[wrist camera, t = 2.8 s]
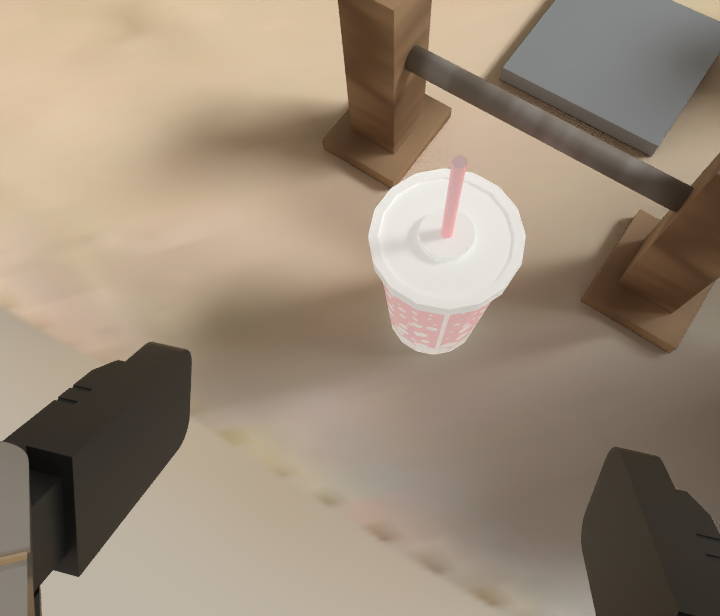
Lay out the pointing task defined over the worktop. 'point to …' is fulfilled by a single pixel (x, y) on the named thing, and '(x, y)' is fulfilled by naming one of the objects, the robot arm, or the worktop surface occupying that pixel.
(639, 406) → the worktop surface
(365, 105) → the gate
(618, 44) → the coaster
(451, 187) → the beverage cup
